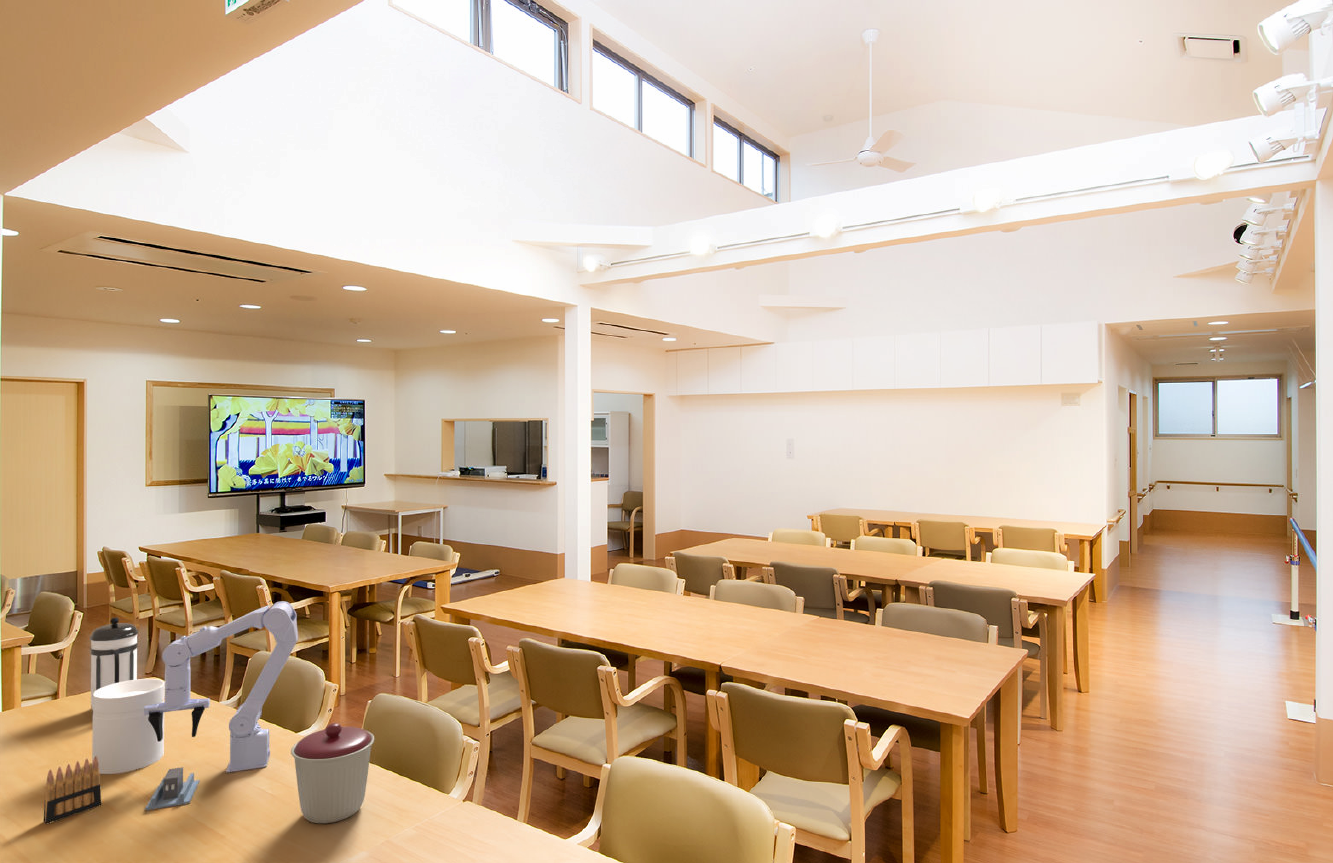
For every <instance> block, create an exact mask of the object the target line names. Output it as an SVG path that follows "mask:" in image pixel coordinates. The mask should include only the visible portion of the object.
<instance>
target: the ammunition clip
mask: <svg viewBox="0 0 1333 863" xmlns="http://www.w3.org/2000/svg"><path fill="white" fill-rule="evenodd" d="M75 763H76V764H75V767H74V774H73V771H72V766H71V764H70V763H68V764H67V765H66V768H65V774H64V773H63V769H62V768H61V766H59V767H58V768H57V771H56V776H55V781H54V774H53V771H52V769H49V770H48V773H47V776H46V787H45V794H44V795H45V797H44V798H45V799H44V808H43V823H44V824H46V825H48V824H47V823H49V824H51V823H50V822H52V821H54V822H57V821H60V820H63V819H66V818H68V817H72V816H75V815H77V814H79V813H83V812H85V811H89V810H92V809H94V807H95V808H96V807H97V806H98V807H100V806H102V793H101V791H102V790H101V783H100V782H101V778H100V776H101V774H100V772H99V763H98V758H97V756H95V757H94V760H93V767H92V766H91V767H90V760H89V759H88V758H86V759H85V760H84V765H83V771H82V770H81V769H82V768H81V763H80V762H79V761H76V762H75ZM91 769H92V770H91ZM81 771H82V772H83V773H82V772H81ZM64 775H65V777H64ZM99 805H100V806H99ZM91 808H92V809H91ZM88 809H89V810H88ZM74 814H75V815H74ZM56 820H57V821H56ZM52 823H53V822H52Z"/></svg>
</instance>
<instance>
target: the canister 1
mask: <svg viewBox="0 0 1333 863" xmlns="http://www.w3.org/2000/svg"><path fill="white" fill-rule="evenodd" d="M164 702H165V680H162V679H158V678H137V679H136V680H129V681H124V682H119V683H115V684H111V685H108V686H105V687H102V688H100V689H98V690H96V691H95V692H94V693H93V709H92V741H91V742H92V746H91V747H92V749H91V750H92V752H91V754H92V755H91V756H92V758H91V761H92V762H91V763H92V764H91V768H92V767H93V760H94V757H95V756H97V758H98V763H99V772H100V775H113V774H123V773H129V772H134V771H136V769H137V770H140V769H144V768H145V767H146V768H147V767H149V766H150V764H151V765H153V764H155V763H157V762H158V761H160V760H161V759H162V758H163V757H164V755H165V753H164V752H165V712H163V724H162V727H163V739H162V740H161V741H159V742H158V740H157V736H156V733H155V730H154V728H153V726H152V725H151V723H150V722H149V721H148V717H149V715H144V708H145V706H147V705H154V704H159V703H164ZM162 756H163V757H162ZM161 757H162V758H161ZM156 761H157V762H156ZM154 762H155V763H154ZM152 763H153V764H152ZM139 768H140V769H139Z"/></svg>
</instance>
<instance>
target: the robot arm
mask: <svg viewBox="0 0 1333 863" xmlns="http://www.w3.org/2000/svg"><path fill="white" fill-rule="evenodd" d="M297 624H298V623H297V612H296V611H295V609H294V606H292V605H291V603H290V602H288V601H277V602H275V603H273V604H272V605H271V604H269V605H266V606H263V607H260V608H258V609H255V610H253V611H251V612H249V613H247V614H244V615H243V616H241V617H238V618H236V619H234V620H232V621H230V622H228V623H226V624H224V625H222V626H220V627H216V626H213V625H210V626H208V627H207V626H205V625H204V626H202V627H201V628H199V630H198V631H197V632H194V633H192V634H189V635H188V636H187V635H183V636H181V637H180V639H176V640H174V641H172V642H171V643H170V644H169V645H168V646H166V648H165V649H164V650H163V651H162V654H161V656H162V657H161V659H162V661H163V663H164V666H165V667H164V668H165V669H164V703H159V704H154V705H147V706H145V708H144V715H149V717H148V721H149V722H150V723H151V725H152V726H153V728H154V730H155V733H156V736H157V740H158V742H159V741H161V740H162V739H163V727H162V724H163V712H164V713H169V712H178V711H185V710H192V711H191V723H192V724H191V726H192V729H191V738H195V737H196V736H197V734H198V733H197V732H198V727H199V725H200V720H201V718H202V716H203V713H204V711H205V709H209V707H210V706H211V698H210V697H209V698H191V671H192V670H191V658H192V657H194V658H195V657H196V656H199V655H201V654H203V653H206V652H208V651H210V650H212V649H215V648H216V647H218V646H220V645H221V644H222V641H223V639H226V638H228V637H230V636H232V635H235V634H238V633H241V632H243V631H245V630H248V629H250V628H255V629H256V628H257V629H260V630H261V629H263V628H264V627H265V628H266V630H268V632H270V633H271V634H272V635H273V637H274V640H275V642H276V644H275V647H274V648H273V651H272V652H271V654H270V656H269V657H268V659H267V660H266V662H265V665H264V667H263V668H262V670H261V672H260V674H259V675H258V678H257V679H256V681H255V682H254V685H253V686H252V689H251V690H250V692H249V694H248V696H247V697H246V700H245V701H244V703H242V704H240V706H239V707H238V708H237V710H236V712H235V713H234V715H233V716H232V717H231V718H230V721H229V723H228V730H229V733H230V736H229V738H230V739H229V750H230V751H229V763H228V765H227V768H226V773H233V772H239V771H246V770H248V771H249V770H254V769H261V768H265V767H267V766H268V762H269V758H270V756H271V749H270V729H269V728H262V727H261V726H260V724H259V722H258V721H259V719H260V718H261V716H262V711H263V710H262V709H263V705H264V704H265V702H266V700H267V697H268V696H269V694H270V692H271V690H272V689H273V686H275V683H276V681H277V680H278V677H279V676H280V674H281V672H282V671H283V668H284V667H285V665H286V663H287V661H288V660H289V657H290V656H291V653H292V652H293V650H294V648H295V646H296V644H297V643H298V640H299V630H298V625H297Z"/></svg>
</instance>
